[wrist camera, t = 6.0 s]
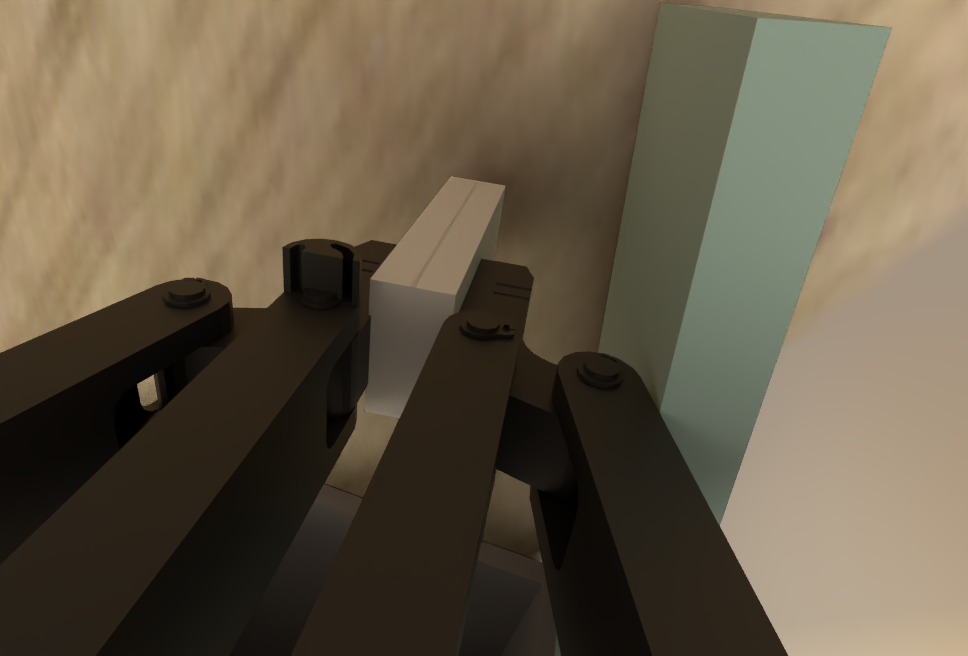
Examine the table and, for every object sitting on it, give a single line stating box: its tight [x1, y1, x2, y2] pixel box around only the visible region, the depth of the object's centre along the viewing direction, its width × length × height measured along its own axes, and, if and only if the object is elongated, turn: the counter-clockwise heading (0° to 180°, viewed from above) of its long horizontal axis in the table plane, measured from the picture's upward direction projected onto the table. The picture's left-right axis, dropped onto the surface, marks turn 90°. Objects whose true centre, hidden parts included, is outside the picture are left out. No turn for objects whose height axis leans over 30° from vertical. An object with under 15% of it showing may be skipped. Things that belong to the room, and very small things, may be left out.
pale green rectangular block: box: [555, 3, 892, 656], centre depth 15 cm, size 3×20×10 cm, turn 177°
